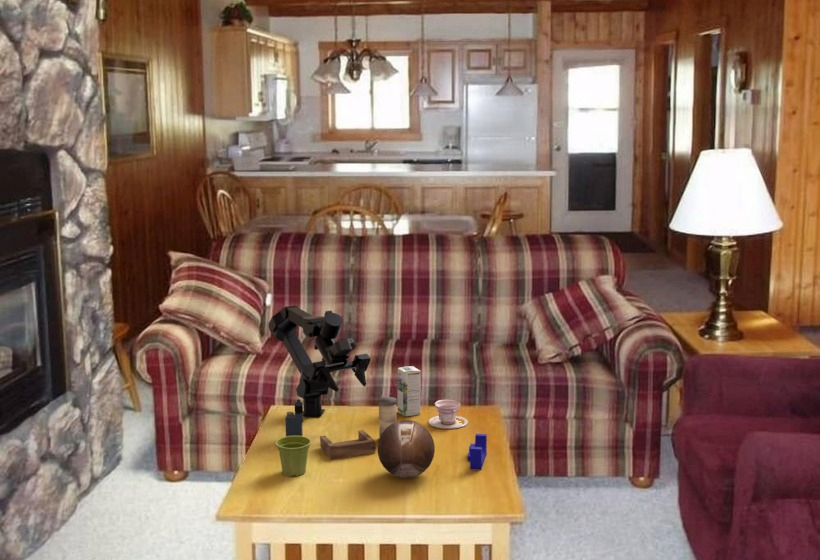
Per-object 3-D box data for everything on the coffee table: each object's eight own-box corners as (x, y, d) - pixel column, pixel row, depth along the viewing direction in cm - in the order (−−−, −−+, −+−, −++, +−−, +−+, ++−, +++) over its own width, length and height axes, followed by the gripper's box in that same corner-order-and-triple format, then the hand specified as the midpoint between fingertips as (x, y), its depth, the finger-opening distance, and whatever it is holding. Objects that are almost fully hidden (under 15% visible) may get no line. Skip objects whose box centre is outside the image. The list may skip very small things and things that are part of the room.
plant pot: (319, 470, 270) (318, 439, 268) (296, 482, 262) (295, 450, 260) (292, 463, 275) (291, 433, 273) (269, 474, 267) (268, 443, 266)
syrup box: (396, 411, 317) (396, 367, 314) (413, 409, 320) (413, 365, 317) (404, 417, 312) (403, 372, 309) (421, 414, 315) (421, 369, 312)
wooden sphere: (385, 489, 256) (385, 433, 254) (372, 468, 271) (371, 415, 268) (441, 483, 260) (441, 428, 257) (425, 462, 275) (425, 410, 272)
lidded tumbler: (380, 435, 296) (380, 396, 293) (398, 436, 295) (397, 397, 293) (377, 442, 291) (377, 402, 288) (395, 442, 290) (395, 402, 288)
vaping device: (303, 440, 292) (302, 401, 290) (285, 440, 292) (284, 401, 290) (304, 437, 295) (303, 398, 292) (286, 437, 295) (285, 398, 292)
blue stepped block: (470, 453, 282) (470, 433, 280) (486, 454, 281) (486, 434, 280) (464, 469, 270) (464, 448, 269) (481, 470, 269) (481, 449, 268)
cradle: (320, 447, 287) (320, 436, 286) (363, 441, 291) (363, 429, 291) (331, 459, 278) (331, 447, 277) (375, 452, 282) (375, 441, 282)
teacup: (423, 419, 311) (423, 400, 310) (459, 415, 314) (459, 396, 313) (435, 431, 299) (435, 411, 298) (473, 427, 303) (473, 407, 302)
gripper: (307, 335, 291) (329, 374, 282) (363, 326, 301) (386, 364, 292) (299, 361, 298) (320, 400, 289) (354, 352, 308) (376, 389, 299)
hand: (351, 388), depth 292 cm, fingers open, 9 cm apart
